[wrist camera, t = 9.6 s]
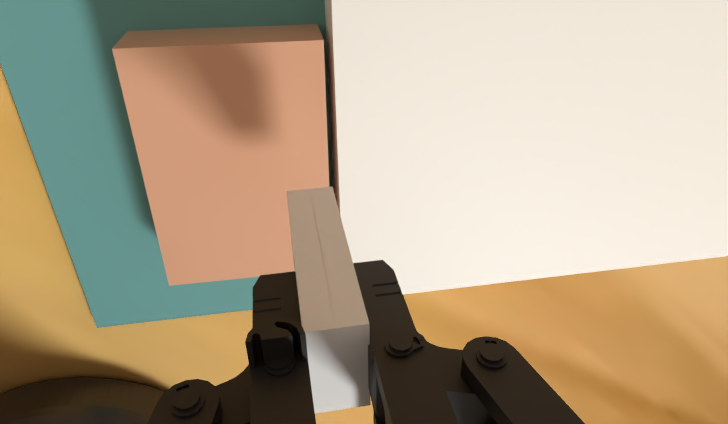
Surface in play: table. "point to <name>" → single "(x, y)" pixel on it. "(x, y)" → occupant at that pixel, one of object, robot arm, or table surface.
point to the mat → (115, 141)
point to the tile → (225, 141)
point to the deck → (528, 135)
